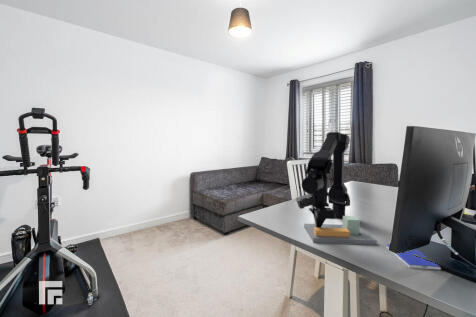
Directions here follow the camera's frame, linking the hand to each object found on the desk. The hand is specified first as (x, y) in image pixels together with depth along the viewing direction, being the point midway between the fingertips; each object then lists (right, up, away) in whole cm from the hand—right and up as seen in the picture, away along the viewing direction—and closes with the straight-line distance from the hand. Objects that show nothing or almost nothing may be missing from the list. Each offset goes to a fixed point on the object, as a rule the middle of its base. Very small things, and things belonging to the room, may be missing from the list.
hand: (318, 228), depth 83 cm
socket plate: (+8, -3, +1) cm, 8 cm away
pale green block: (+13, -3, +1) cm, 13 cm away
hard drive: (+24, -5, -15) cm, 28 cm away
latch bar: (+4, -1, -2) cm, 5 cm away
